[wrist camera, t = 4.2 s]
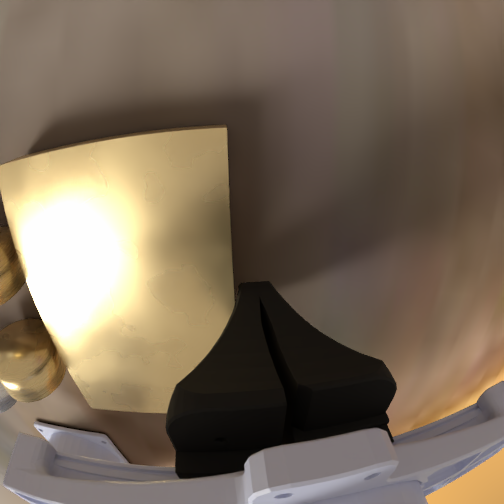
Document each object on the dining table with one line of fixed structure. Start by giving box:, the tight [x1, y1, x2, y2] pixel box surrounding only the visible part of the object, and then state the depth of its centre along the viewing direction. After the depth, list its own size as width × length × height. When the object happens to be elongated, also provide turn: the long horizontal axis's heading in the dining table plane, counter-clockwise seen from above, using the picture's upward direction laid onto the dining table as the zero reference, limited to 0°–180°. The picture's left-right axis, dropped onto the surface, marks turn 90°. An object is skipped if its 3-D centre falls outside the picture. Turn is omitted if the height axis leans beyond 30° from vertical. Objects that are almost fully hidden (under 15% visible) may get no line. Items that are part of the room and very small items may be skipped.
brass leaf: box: [0, 125, 235, 413], centre depth 11 cm, size 14×14×4 cm
